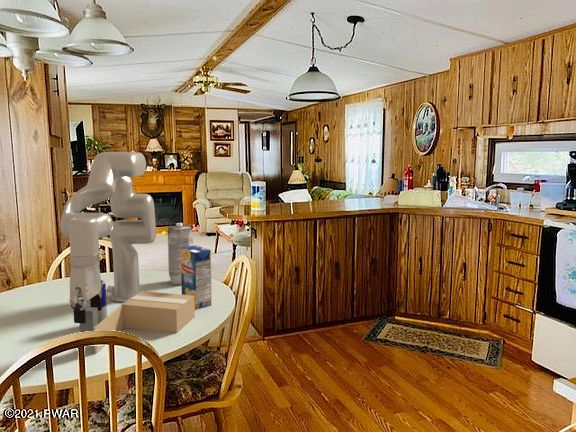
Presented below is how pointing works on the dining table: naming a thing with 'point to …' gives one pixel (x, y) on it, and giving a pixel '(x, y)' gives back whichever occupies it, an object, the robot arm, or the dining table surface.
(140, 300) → the kraft carton
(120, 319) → the side flap
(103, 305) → the beverage can
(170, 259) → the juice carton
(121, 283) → the robot arm
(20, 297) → the dining table surface
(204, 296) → the beverage box
